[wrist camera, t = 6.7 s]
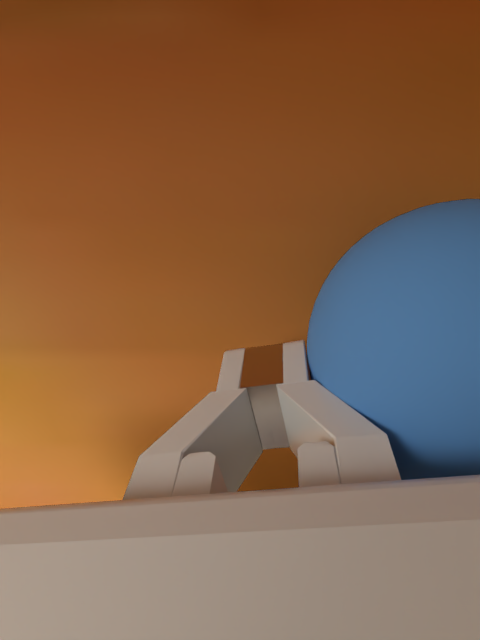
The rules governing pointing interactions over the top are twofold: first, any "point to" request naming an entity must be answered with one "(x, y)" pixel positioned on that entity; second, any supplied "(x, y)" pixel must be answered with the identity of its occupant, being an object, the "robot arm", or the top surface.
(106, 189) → the top surface
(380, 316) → the ball
